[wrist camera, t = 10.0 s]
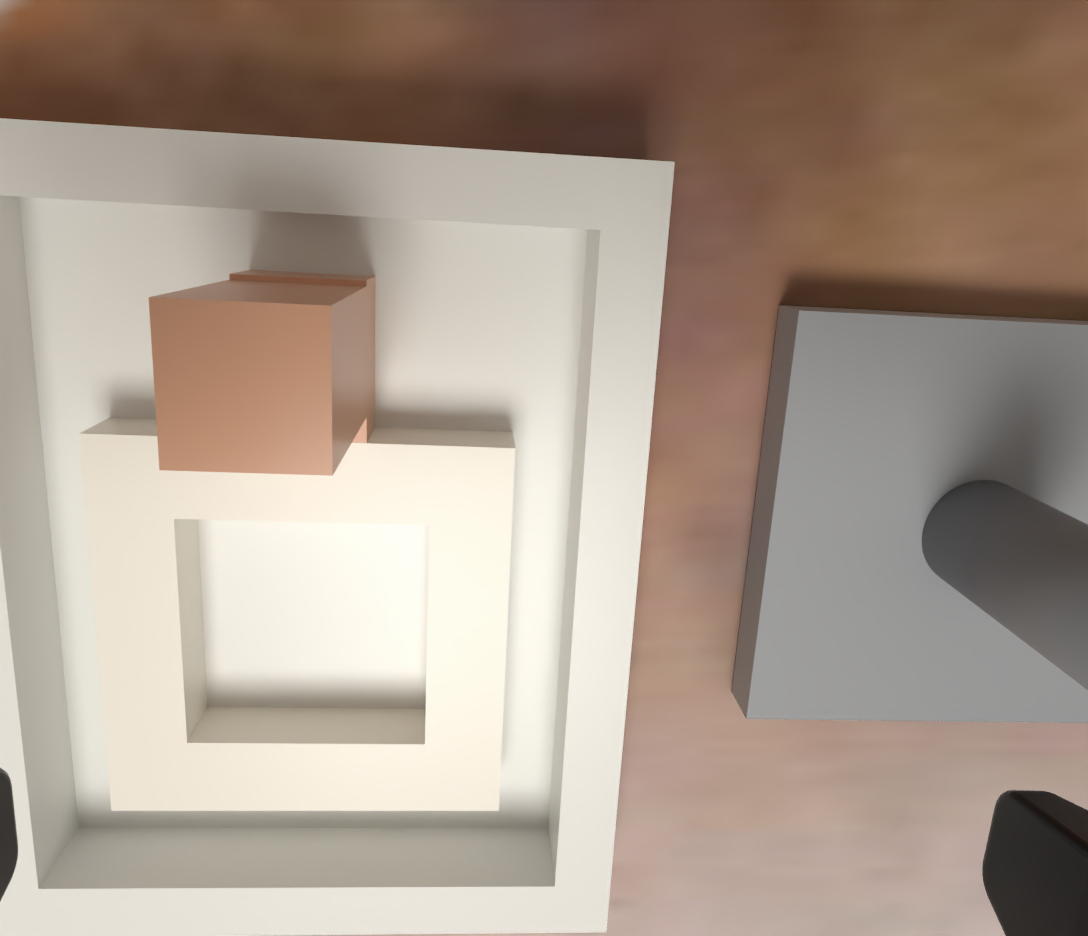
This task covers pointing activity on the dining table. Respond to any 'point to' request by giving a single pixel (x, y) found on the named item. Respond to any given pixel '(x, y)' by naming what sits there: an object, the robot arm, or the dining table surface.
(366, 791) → the ring
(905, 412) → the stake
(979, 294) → the dining table surface
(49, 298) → the tray
